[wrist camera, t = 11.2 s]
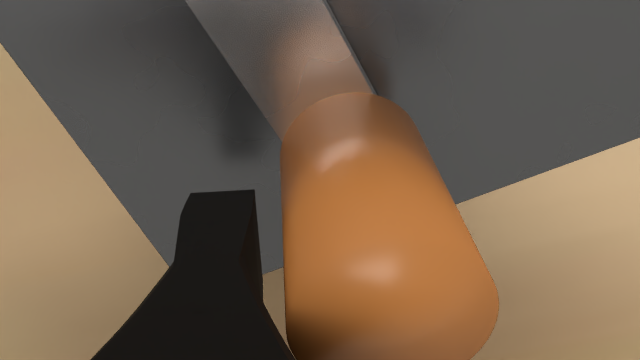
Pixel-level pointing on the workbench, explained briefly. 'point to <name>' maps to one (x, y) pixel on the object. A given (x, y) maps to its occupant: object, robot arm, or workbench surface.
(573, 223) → the workbench surface
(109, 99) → the crank base
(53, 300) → the workbench surface
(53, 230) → the workbench surface
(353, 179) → the crank
